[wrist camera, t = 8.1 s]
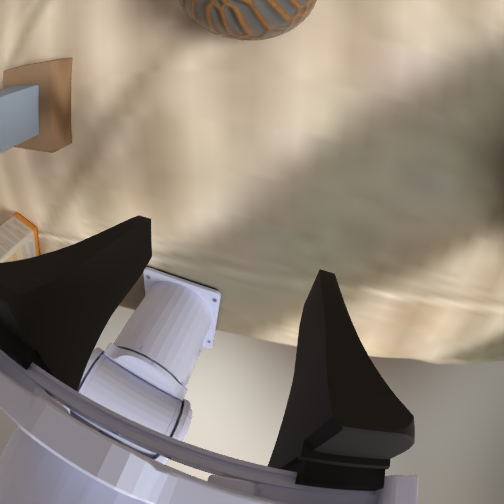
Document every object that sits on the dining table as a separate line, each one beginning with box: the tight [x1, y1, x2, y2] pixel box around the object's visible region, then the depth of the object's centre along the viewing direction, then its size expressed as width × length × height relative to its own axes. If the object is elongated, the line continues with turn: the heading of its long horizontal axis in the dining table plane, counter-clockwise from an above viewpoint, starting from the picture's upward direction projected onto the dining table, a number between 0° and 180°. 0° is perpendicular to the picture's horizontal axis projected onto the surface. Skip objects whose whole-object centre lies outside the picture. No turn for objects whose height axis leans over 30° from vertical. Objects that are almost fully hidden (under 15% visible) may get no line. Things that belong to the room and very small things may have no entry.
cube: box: [0, 85, 39, 154], centre depth 16 cm, size 4×4×4 cm
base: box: [3, 58, 72, 153], centre depth 19 cm, size 8×8×3 cm
